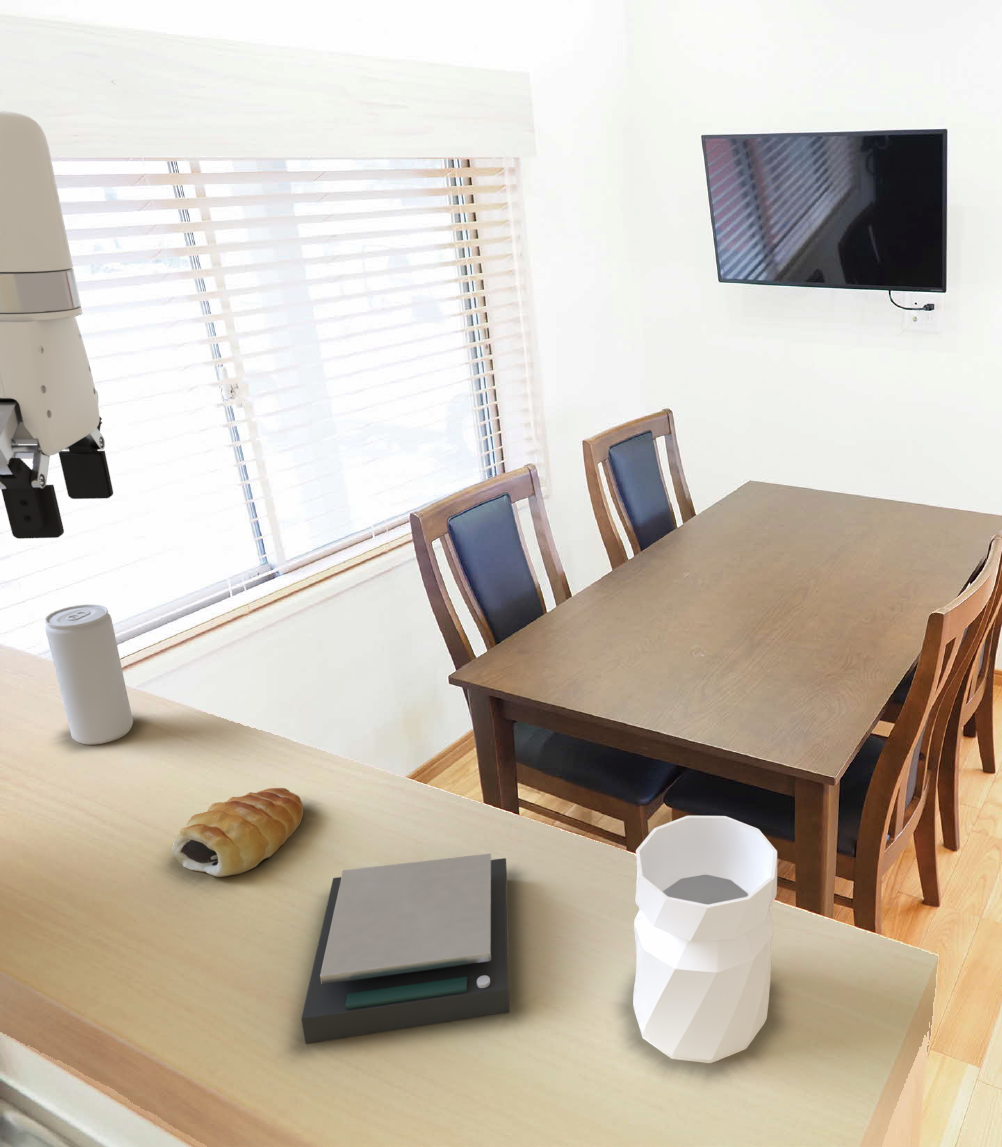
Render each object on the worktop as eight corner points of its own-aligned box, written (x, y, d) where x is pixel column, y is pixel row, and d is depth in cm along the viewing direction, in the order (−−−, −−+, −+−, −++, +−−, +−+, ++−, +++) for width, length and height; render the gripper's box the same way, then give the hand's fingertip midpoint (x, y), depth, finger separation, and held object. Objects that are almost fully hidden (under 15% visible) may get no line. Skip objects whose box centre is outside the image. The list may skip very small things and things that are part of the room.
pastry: (262, 799, 81) (256, 760, 80) (328, 819, 79) (323, 779, 78) (164, 866, 73) (156, 824, 71) (235, 890, 71) (228, 847, 70)
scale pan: (321, 985, 59) (319, 975, 59) (343, 879, 68) (342, 869, 68) (491, 962, 62) (490, 951, 61) (491, 862, 71) (490, 853, 70)
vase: (723, 1089, 58) (731, 929, 53) (605, 1026, 61) (604, 872, 57) (791, 993, 65) (804, 844, 60) (682, 942, 69) (686, 799, 64)
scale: (305, 1046, 59) (300, 1015, 58) (336, 902, 70) (332, 874, 69) (509, 1014, 62) (508, 984, 61) (507, 881, 73) (505, 854, 72)
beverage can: (58, 742, 87) (28, 621, 83) (104, 717, 92) (78, 600, 87) (103, 751, 86) (75, 629, 82) (147, 725, 91) (122, 608, 86)
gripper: (14, 281, 78) (60, 485, 84) (-114, 308, 62) (-45, 556, 69) (118, 284, 80) (156, 484, 86) (20, 311, 64) (75, 553, 71)
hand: (67, 516), depth 77 cm, fingers open, 9 cm apart
